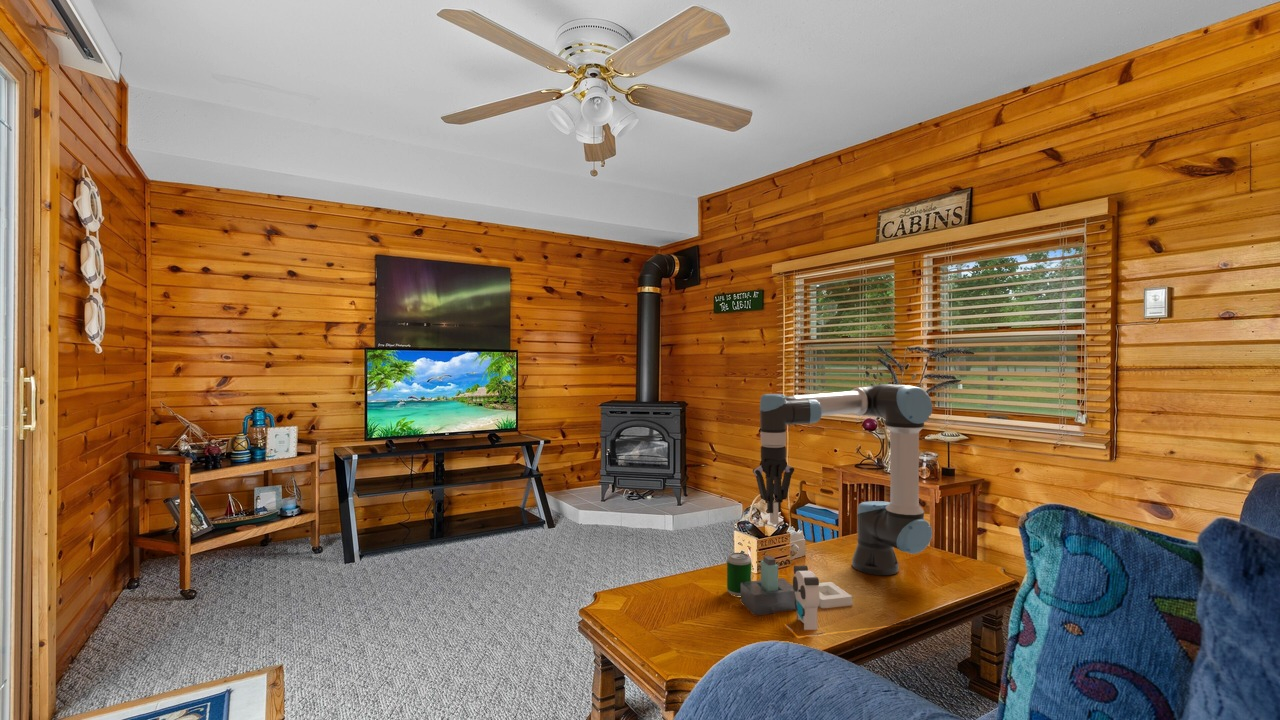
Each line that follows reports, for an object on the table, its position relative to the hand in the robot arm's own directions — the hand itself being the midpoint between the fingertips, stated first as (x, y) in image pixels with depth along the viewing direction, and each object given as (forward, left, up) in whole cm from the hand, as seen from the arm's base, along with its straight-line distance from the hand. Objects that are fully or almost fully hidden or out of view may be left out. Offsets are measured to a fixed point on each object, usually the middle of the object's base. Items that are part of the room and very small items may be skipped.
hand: (774, 523), depth 185 cm
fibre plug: (+3, +3, -22) cm, 22 cm away
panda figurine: (-2, +16, -24) cm, 29 cm away
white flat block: (-16, +3, -24) cm, 29 cm away
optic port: (+3, +3, -24) cm, 24 cm away
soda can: (+8, -8, -24) cm, 27 cm away
